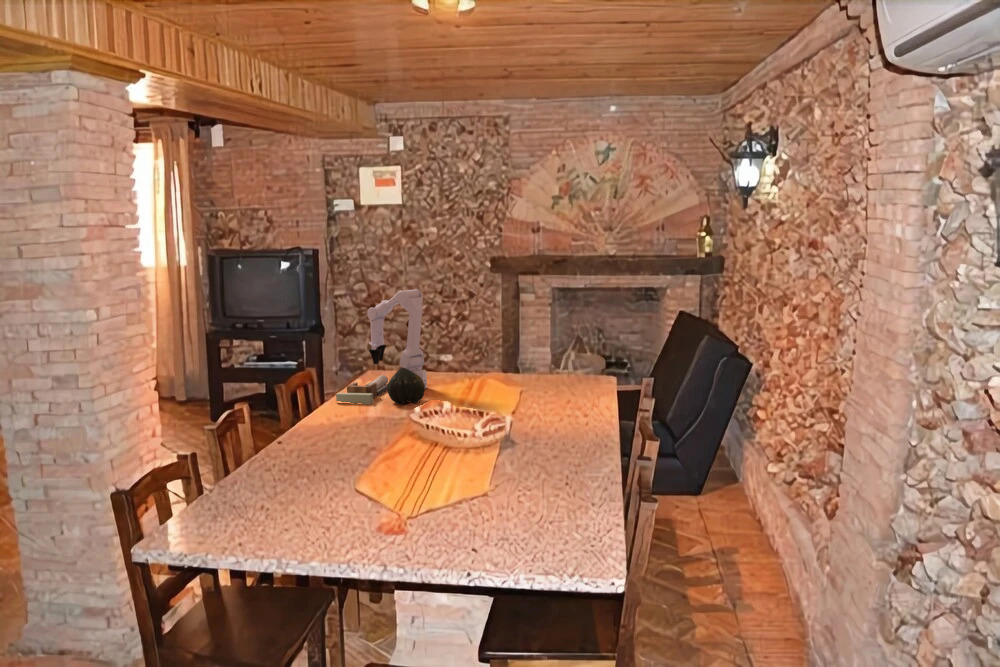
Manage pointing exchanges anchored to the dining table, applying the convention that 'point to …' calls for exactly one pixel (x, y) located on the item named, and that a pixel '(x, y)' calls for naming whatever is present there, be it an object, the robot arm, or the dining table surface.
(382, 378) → the tube
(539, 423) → the dining table surface
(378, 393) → the guide rails
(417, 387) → the squash
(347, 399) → the wall
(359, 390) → the socket block
